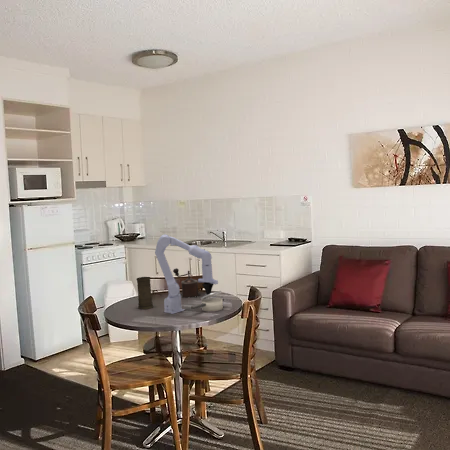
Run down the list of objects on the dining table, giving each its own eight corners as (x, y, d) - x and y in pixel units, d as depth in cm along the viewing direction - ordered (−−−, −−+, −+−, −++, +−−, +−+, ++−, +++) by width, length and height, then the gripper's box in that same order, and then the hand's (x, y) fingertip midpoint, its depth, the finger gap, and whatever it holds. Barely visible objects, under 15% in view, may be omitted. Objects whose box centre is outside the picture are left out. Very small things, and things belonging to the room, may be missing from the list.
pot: (200, 316, 266) (199, 307, 266) (185, 313, 275) (185, 304, 274) (230, 307, 282) (229, 298, 282) (215, 304, 291) (214, 296, 291)
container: (150, 309, 289) (148, 279, 288) (135, 309, 291) (133, 279, 289) (155, 305, 298) (153, 276, 296) (141, 305, 300) (139, 276, 298)
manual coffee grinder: (198, 293, 326) (196, 266, 324) (198, 296, 315) (196, 269, 313) (174, 295, 325) (172, 268, 323) (174, 298, 314) (172, 270, 312)
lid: (196, 301, 280) (195, 298, 281) (212, 296, 289) (211, 293, 290) (210, 294, 272) (209, 291, 272) (225, 290, 281) (224, 287, 281)
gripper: (221, 271, 279) (222, 295, 280) (203, 270, 289) (205, 292, 290) (212, 274, 274) (213, 298, 275) (194, 272, 284) (196, 295, 285)
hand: (208, 295), depth 282 cm, fingers closed, pressing on lid
